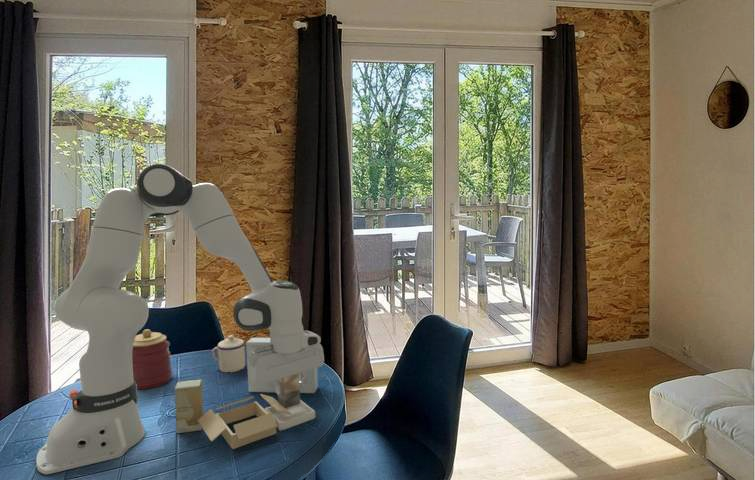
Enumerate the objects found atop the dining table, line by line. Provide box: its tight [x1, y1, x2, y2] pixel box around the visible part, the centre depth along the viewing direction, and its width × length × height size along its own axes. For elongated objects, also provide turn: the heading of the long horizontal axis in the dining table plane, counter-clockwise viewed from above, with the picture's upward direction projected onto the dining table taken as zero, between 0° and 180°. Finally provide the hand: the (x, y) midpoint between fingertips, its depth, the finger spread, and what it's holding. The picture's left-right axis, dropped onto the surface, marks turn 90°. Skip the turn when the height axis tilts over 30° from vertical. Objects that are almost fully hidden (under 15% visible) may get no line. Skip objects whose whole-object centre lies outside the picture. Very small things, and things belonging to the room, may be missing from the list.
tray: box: [263, 398, 316, 432], centre depth 121 cm, size 10×10×2 cm
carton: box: [197, 393, 291, 450], centre depth 114 cm, size 20×19×6 cm
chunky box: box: [277, 374, 301, 408], centre depth 121 cm, size 4×4×10 cm
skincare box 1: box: [174, 379, 204, 434], centre depth 116 cm, size 6×4×12 cm
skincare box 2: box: [245, 337, 319, 394], centre depth 137 cm, size 21×6×16 cm, turn 84°
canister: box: [132, 328, 173, 390], centre depth 145 cm, size 13×13×18 cm
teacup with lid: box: [211, 334, 246, 373], centre depth 155 cm, size 12×9×12 cm
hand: (290, 390), depth 121 cm, fingers closed on chunky box, 4 cm apart
